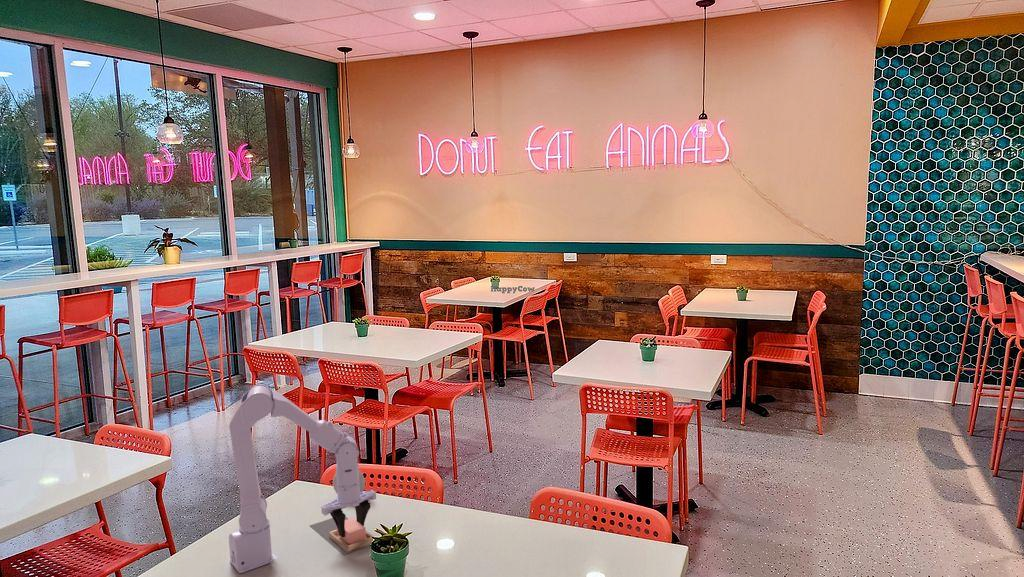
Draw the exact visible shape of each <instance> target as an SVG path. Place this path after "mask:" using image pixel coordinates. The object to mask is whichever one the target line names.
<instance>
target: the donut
mask: <svg viewBox="0 0 1024 577" xmlns="http://www.w3.org/2000/svg"><path fill="white" fill-rule="evenodd" d="M359 484H360V493H361V492H364V490H365V487H366V480H365V477H364V475H363V473H362V471H361V470H359ZM332 485H333V486H332V487H333V490H334V491H335V493H336V494H337V478H336V472H335V474H334V475H333V479H332Z"/></svg>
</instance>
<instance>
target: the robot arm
mask: <svg viewBox="0 0 1024 577" xmlns="http://www.w3.org/2000/svg"><path fill="white" fill-rule="evenodd" d="M269 415H270V418H275V417H284V418H286V419H288V420H289V421H291V422H292V423H294V424H296V425H297V426H299V427H300V428H302V429H304V430H306V431H307V432H308V435H309V436H308V437H309V440H312V441H313V442H314V443H316V444H317V445H318V446H320V447H321V448H323V449H324V450H326V451H328V452H329V453H333V454H334V456H335V459H336V466H335V473H336V478H337V493H336V494H337V498H336V499H333V500H332V501H330V502H328V503H326V504H323V505H321V506H320V508H321V514H322V515H323V516H328V515H330V516H331V518H333V519H334V521H335V523H336V526H337V528H338V532H339V535H340V536H341V537H345V517H346V514H345V513H344V510H343V509H346V508H348V507H351V508H354V509H355V516H356V521H357V522H359V523H360V524H361V525H363V526H364V527H365V521H366V519H367V515H368V513H369V511H370V509H371V503H369V501H371V500H372V501H374V500H377V492H376V491H374V489H371V490H367V491H363V492H361V493H360V484H359V471H360V469H359V459H358V458H359V455H360V450H359V447H358V445H357V442H356V440H355V439H354V437H353V436H352V435H351V434H348V433H347V432H346V431H344V432H342V431H341V430H340V429H338V428H337V427H336V426H334V423H333V422H332V421H331V420H328V421H327V420H325V419H319V420H318V419H317V420H316V419H315V418H313V417H312V416H311V415H309V414H308V413H307V412H305V411H304V410H303V409H301V407H299V406H297V405H296V403H294V402H292V401H291V400H290V399H289V398H287V397H285V396H284V395H283V394H281V393H279V392H278V391H276V390H272V389H271V388H270V387H269V386H268V385H266V384H262V383H261V384H255V385H252V386H251V387H250V388H249V389H248V390H247V391H246V392H245V393H244V394H243V395H242V397H241V399H240V400H239V404H238V405H237V407H236V408H235V411H234V413H233V415H232V417H231V419H230V420H229V432H230V440H231V445H232V452H233V457H234V466H235V470H236V477H237V483H238V490H239V496H240V497H239V499H240V513H239V518H238V529H236V530H235V531H233V532H231V533H229V536H228V545H229V557H230V560H229V563H230V564H231V565H232V566H233V568H235V570H236V571H237V572H238V573H239V574H243V573H246V572H249V571H252V570H254V569H256V568H261V567H263V566H265V565H268V564H270V563H272V562H273V561H276V560H278V559H279V557H277V555H276V554H275V553H274V552H272V538H271V525H270V524H271V523H270V520H269V519H268V518H267V508H268V502H267V500H266V498H265V497H264V495H263V493H262V490H261V489H262V488H261V487H260V482H259V476H258V470H257V462H256V458H255V457H256V456H255V450H254V449H255V448H254V444H253V436H252V430H251V429H252V427H254V425H255V424H256V423H257V422H259V421H260V420H262V419H264V418H266V417H267V416H269Z"/></svg>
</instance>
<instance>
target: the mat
mask: <svg viewBox="0 0 1024 577" xmlns="http://www.w3.org/2000/svg"><path fill="white" fill-rule="evenodd" d="M347 519H349V518H348V517H347V516H345V520H347ZM309 527H310V528H311V529H312V530H313V531H315V532H316V533H317V534H318V535H319V536H320V537H321V538H323V539H324V540H325V541H326V542H327V543H329V544H330V545H331V546H332V547H333V548H334V549H336V551H338V552H339V553H340V554H341V555H343V556H345V557H346V556H347V555H350V554H353V553H355V552H358V551H360V550H363V549H366V548H369V547H371V546H370V545H368V546H365V547H363V548H360V549H357V550H354V551H352V552H349V553H346V552H345V551H344V550H343V549H341V548H340V547H339V546H338V545H337V544H336V543H334V542H333V541H332V540H331V539H330V538H329V532H331V531H334V530H337V527H336V523H335V521H334V519H333V518H332V517H330V518H329V519H326V520H325V519H324V520H323V521H319V522H316V523H313V524H310V525H309Z"/></svg>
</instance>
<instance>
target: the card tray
mask: <svg viewBox="0 0 1024 577" xmlns="http://www.w3.org/2000/svg"><path fill="white" fill-rule="evenodd" d="M372 537H374V538H375V536H374V535H372V534H371V533H370V532H369V531H367V530H366V539H363V540H361V541H358V542H355V543H352V544H349V543H347V542H346V541H345V540H344V539H342V538H341V537H340V536H339V535H338V534H337V530H334V531H331V532H329V538H330V539H331V540H332V541H333V542H334V543H336V544H337V545H338V546H339V547H340V548H341V549H343V550H344V551H345V552H346V553H349V552H352V551H354V550H357V549H360V548H363V547H365V546H368V545H370V544H371V543H372V541H373V539H372ZM375 539H376V538H375Z"/></svg>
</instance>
